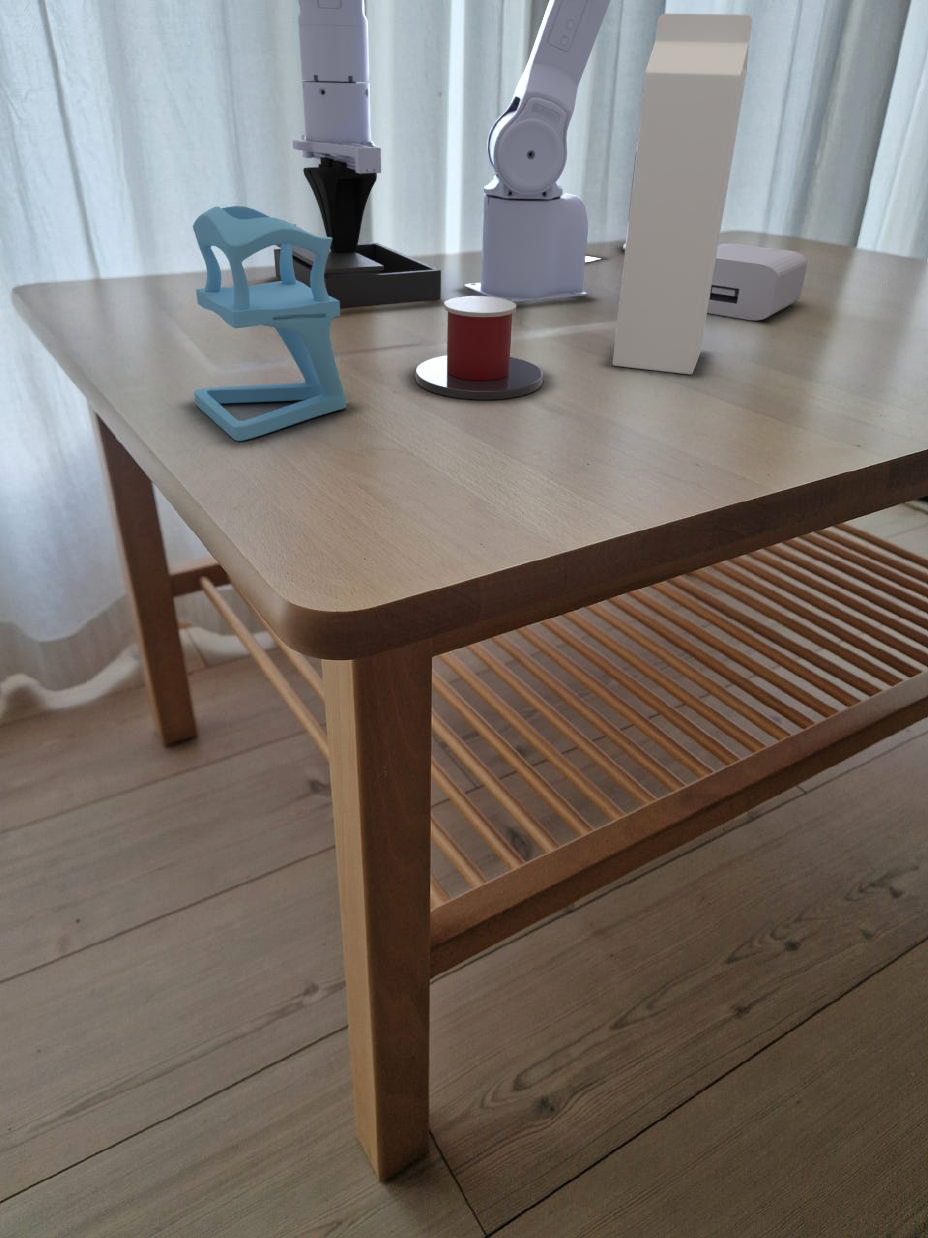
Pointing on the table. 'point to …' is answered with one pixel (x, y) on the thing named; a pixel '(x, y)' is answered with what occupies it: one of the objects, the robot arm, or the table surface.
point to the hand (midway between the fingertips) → (343, 251)
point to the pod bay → (376, 279)
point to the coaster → (515, 384)
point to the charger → (755, 281)
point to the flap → (338, 261)
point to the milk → (680, 188)
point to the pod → (479, 337)
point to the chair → (270, 317)
